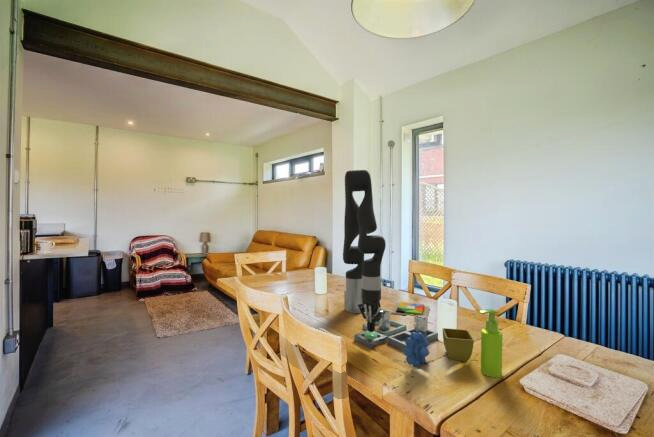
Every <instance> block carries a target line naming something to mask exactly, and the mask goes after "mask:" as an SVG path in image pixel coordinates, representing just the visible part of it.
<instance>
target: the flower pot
mask: <svg viewBox="0 0 654 437" xmlns="http://www.w3.org/2000/svg"><path fill="white" fill-rule="evenodd" d="M442 338H443V340H442V341H443V346H444V349H445V351H446V354H447V357H448V359H449V360H455V361H456V360H457V361H460V363H464V364H465V363H468V362H469V360H470V359H471V357H472V354H473V350H474V342H475V339H474V337H473V335H471V333H470V332H469V330H468V329H458V328H446V327H444V328H442Z"/></svg>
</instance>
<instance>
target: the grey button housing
mask: <svg viewBox="0 0 654 437" xmlns="http://www.w3.org/2000/svg"><path fill="white" fill-rule="evenodd" d="M367 332H369V331H368V330H364V331H362V332H359V333H358V332H357V333H355V334H354V336H353V337H354V338H353V339H354V341H355V342H357V343H359V344H361V345H363V346H365V347H366V348H369V349H373V348H376V347H377V346H379V345H382V344H384V343H388V337H389V336H385V335H383V334H380V333H378V332H376V331H373V333H376V334H377V338H375V339H373V340H369V339H367V338H365V337H364V334H365V333H367Z"/></svg>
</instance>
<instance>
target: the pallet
mask: <svg viewBox="0 0 654 437" xmlns="http://www.w3.org/2000/svg"><path fill="white" fill-rule="evenodd" d="M412 332H414V327H412V328H410V329H406V330H403V331H400V332H397V333H395V334H392V335H389V336H387V337H388V339H387V344H389V345H391V346H393V347H395V348H398V349H400V350H402V351H403V350H404V348H405V347H408V346H406V344H405V340H406V339H407V338H411V337H410V334H411V333H412ZM425 339H427V341H428V343H429V344H430V343H431V342H433V341H435V340H438V339H439V333H438V332H437V331H433V330H431V329H430V328H429V329H428V335H427V336H425Z"/></svg>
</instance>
